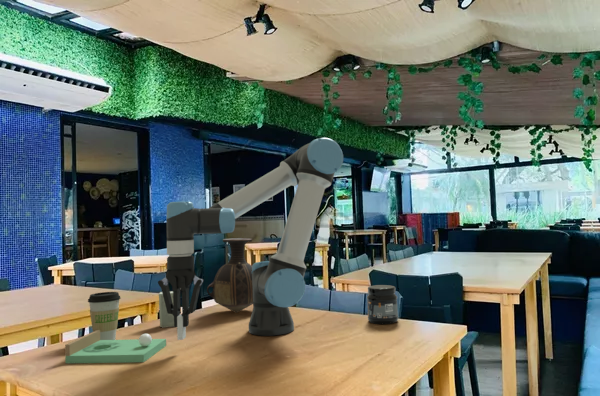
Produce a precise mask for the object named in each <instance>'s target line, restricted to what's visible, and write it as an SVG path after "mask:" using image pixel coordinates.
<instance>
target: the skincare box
mask: <svg viewBox="0 0 600 396" xmlns="http://www.w3.org/2000/svg"><path fill="white" fill-rule="evenodd" d="M170 294H171V298H172V302H173V291H172V290H170ZM158 305H159V309H158V310H159V327H162V328H170V327H172V328H173V327H175V326H174V316H173V315H172V314H168V313H167V309H166V305H165V301H164V297H163V293H162V291H160V292H159V293H158Z"/></svg>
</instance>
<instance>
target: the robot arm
mask: <svg viewBox="0 0 600 396" xmlns="http://www.w3.org/2000/svg"><path fill="white" fill-rule="evenodd" d="M340 146H341V145H339V144H338V143H337V141H336V140H333V139H331V138H328V137H320V138H316V139H313V140H312V141H310V142H309V143H307V144H304V145H303V146H301V147H299V149H297V150H296V151H295V152H293V153H292V154H291V155H290V156H288V157H287V158H286V159H284V160H282V161H281V162H280V163H279V166H278V167H276V168H274V169H273V170H271V171H269V172H267V173H266V174H264V175H263V176H260V177H259V178H257V179H255V180H254V181H252V182H250V183H249V184H247V185H246V186H244V187H242V188H240V189H239V190H237V191H235V192H234V193H232V194H230V195H227V196H226V197H225V198H223V199H222V200H220V201H218V202H217V203H215V204H213V205H211V206H210V207H208V208H196V207H194V203H193V202H192V201H171V202H169V203H168V204H167V205H166V217H165V218H166V220H165V221H166V255H168V256H167V257H166V270H167V272H166V274H165V277H163V278H162V279H159V280H158V281H157V283H158V286H159V287H160V289H161V292H162V293H163V297H164V301H165V305H166V309H167V313H168V314H172V315H173V316H174V326H173V327H174V328H177V330H176V331H177V332H176V333H177V336H176V337H177V341H179V340H181V341H182V340H184V339H186V337H187V332H186V331H187V330H186V329H187V327H189V324H190V321H189V317H190V315H191V314H192V313H194V312H196V309H197V303H198V299H199V295H200V290H201V287H202V285H203V283H204V279H203V278H200V277H198V276H197V274H196V272H195V271H196V270H195V256H194V255H193V254H194V253H195V246H194V245H195V238H194V235H203V234H204V235H205V234H212V235H213V234H223V235H224V234H230V233H231V234H232V233H233V232H234V231H235V227H236V219H238V218H239V217H241V216H242V215H244V214H246V213H247V212H249V211H250V210H253V209H254V208H256V207H257V206H259V205H260V204H263V203H264V202H265V201H267V200H269V199H271V198H272V197H274V196H275V195H277V194H279V193H281V192H282V191H284V190H285V189H287V188H289V187H291V186H293V187H296V190H295V193H294V197H293V199H292V203H291V207H290V210H289V214H288V216H287V218H286V219H287V220H286V223H285V225H284V229H283V233H282V235H281V239H280V242H279V245H278V249H277V252H276V253H274V254H273V255H272V256H270V258H269V260H265V261H257V262H254V263H253V264H251V265H252V286H253V304H252V305H253V306H252V311H251V315H250V318H249V322H248V333H249V334H251V335H255V336H263V337H264V336H265V337H272V336H280V335H282V336H283V335H286V334H289V333H291V332H293V331H294V330H295V323H294V320H293V317H292V315H291V314H292V313H291V311H290V307H292V306H295V305H296V304H298V303H299V302H300V300H301V299H302V298H303V297H304V294H305V291H306V281H305V279H304V277H305V273H306V271H307V266H306V264H305V261H304V260H305V257H306V253H307V250H308V246H309V243H310V241H311V236H312V232H313V230H314V227H315V224H316V220H317V217H318V213H319V210H320V207H321V203H322V200H323V197H324V193H325V190H326V189H327V188H329V187H330V186H331V185H332V183H333V179H334V177H335V176H334V175H335V174H336V173H337V172H338V171H339V170H340V169H341V167H342V165H343V163H344V154H343V151H342V149H341V147H340ZM192 283H193V285H194V286H193V289H192V293H191V294H192V295H191V298H190V286H191V284H192ZM169 284H170V285H171V288H172V290H170V287H169ZM170 291H173V302H172V298H171V294H170ZM181 308H182V309H181Z"/></svg>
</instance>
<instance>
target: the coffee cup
mask: <svg viewBox="0 0 600 396" xmlns="http://www.w3.org/2000/svg"><path fill="white" fill-rule="evenodd" d="M121 299H122V298H121V295H120V294H119V292H118V291H105V292H104V291H103V292H95V293H92V294H90V295H89V298H88V299H87V302H88V303H89V314H90V315H89V316H90V321H91V328H92V329H91V330H92V332H94V331H96V330H100V340H117V339H116V336H117V328H118V321H119V312H120V307H119V305H120V300H121Z"/></svg>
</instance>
